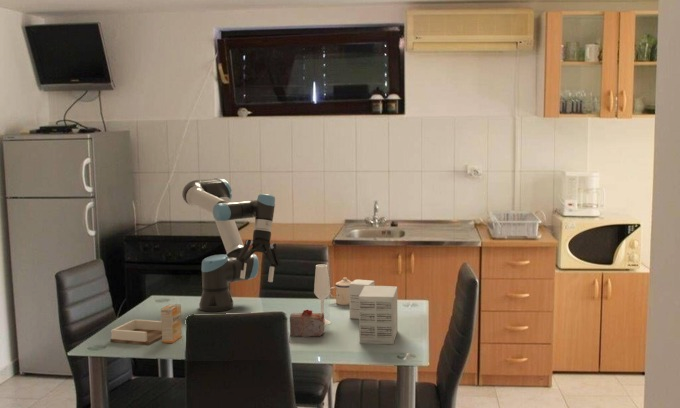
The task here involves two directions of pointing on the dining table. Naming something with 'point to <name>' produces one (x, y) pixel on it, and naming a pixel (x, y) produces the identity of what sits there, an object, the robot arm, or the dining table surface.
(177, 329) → the supplement box
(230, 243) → the robot arm
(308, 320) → the food item
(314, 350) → the dining table surface
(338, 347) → the dining table surface
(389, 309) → the supplement box
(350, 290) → the supplement box
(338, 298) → the teacup with lid
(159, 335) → the walled holder
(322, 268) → the champagne flute
